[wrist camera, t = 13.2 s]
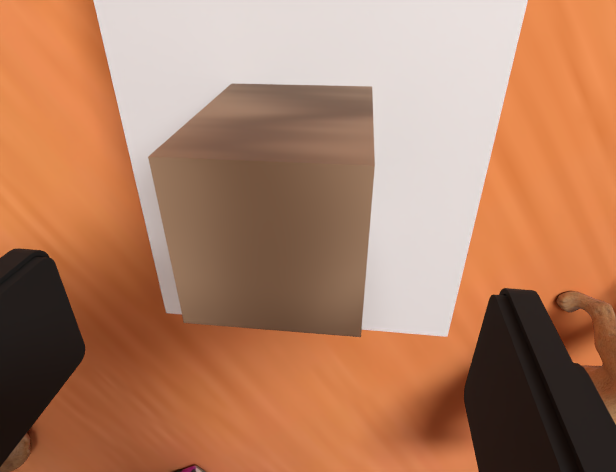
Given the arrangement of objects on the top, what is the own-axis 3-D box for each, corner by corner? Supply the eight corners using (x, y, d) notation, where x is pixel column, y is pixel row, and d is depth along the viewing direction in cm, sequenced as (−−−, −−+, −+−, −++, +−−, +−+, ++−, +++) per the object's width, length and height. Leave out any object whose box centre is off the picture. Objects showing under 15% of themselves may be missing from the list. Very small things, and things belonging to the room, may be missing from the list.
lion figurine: (510, 419, 29) (560, 577, 22) (442, 391, 29) (468, 545, 21) (699, 264, 22) (878, 426, 14) (611, 221, 21) (749, 368, 13)
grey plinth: (529, -148, 14) (579, -182, 11) (439, 287, 24) (451, 340, 21) (116, -138, 16) (48, -165, 12) (190, 269, 26) (163, 315, 22)
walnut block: (372, 86, 15) (375, 165, 9) (363, 212, 18) (360, 337, 12) (231, 83, 15) (147, 156, 10) (243, 206, 18) (184, 322, 12)
